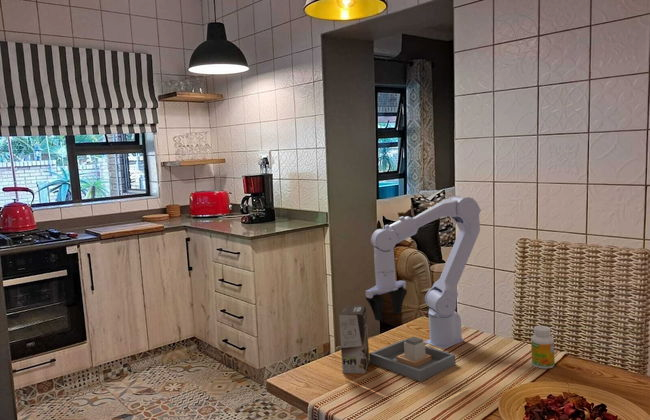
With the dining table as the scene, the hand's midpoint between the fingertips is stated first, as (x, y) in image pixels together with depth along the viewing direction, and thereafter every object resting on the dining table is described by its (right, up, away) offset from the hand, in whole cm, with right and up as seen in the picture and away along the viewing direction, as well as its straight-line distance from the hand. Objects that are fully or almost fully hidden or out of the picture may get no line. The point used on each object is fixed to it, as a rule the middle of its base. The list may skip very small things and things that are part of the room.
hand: (387, 316), depth 148 cm
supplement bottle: (+38, -9, -17) cm, 42 cm away
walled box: (+5, -11, -11) cm, 16 cm away
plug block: (+6, -10, -9) cm, 15 cm away
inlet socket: (+6, -10, -9) cm, 15 cm away
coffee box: (-10, -12, -10) cm, 18 cm away
